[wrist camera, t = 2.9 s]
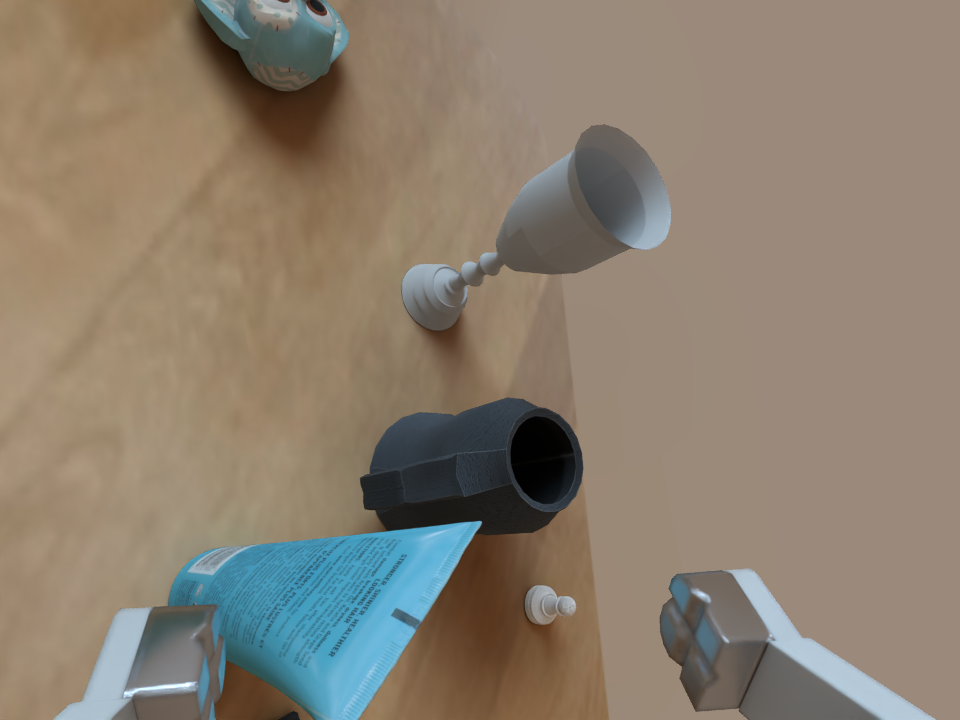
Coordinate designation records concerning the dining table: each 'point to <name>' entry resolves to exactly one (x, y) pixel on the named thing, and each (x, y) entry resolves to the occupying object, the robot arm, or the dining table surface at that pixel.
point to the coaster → (290, 716)
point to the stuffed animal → (279, 37)
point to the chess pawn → (547, 605)
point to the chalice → (558, 223)
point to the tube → (325, 608)
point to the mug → (475, 469)
